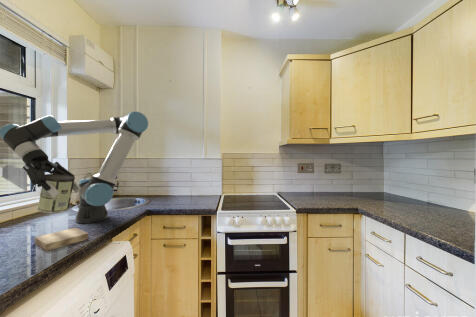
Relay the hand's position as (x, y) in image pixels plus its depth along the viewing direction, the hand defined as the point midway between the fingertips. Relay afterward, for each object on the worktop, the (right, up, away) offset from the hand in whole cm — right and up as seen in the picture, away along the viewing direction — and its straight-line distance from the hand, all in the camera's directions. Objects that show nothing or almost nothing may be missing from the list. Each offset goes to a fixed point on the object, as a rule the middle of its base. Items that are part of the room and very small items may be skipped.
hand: (68, 192), depth 89 cm
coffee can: (-7, -7, 0) cm, 10 cm away
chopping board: (-3, -20, +1) cm, 21 cm away
